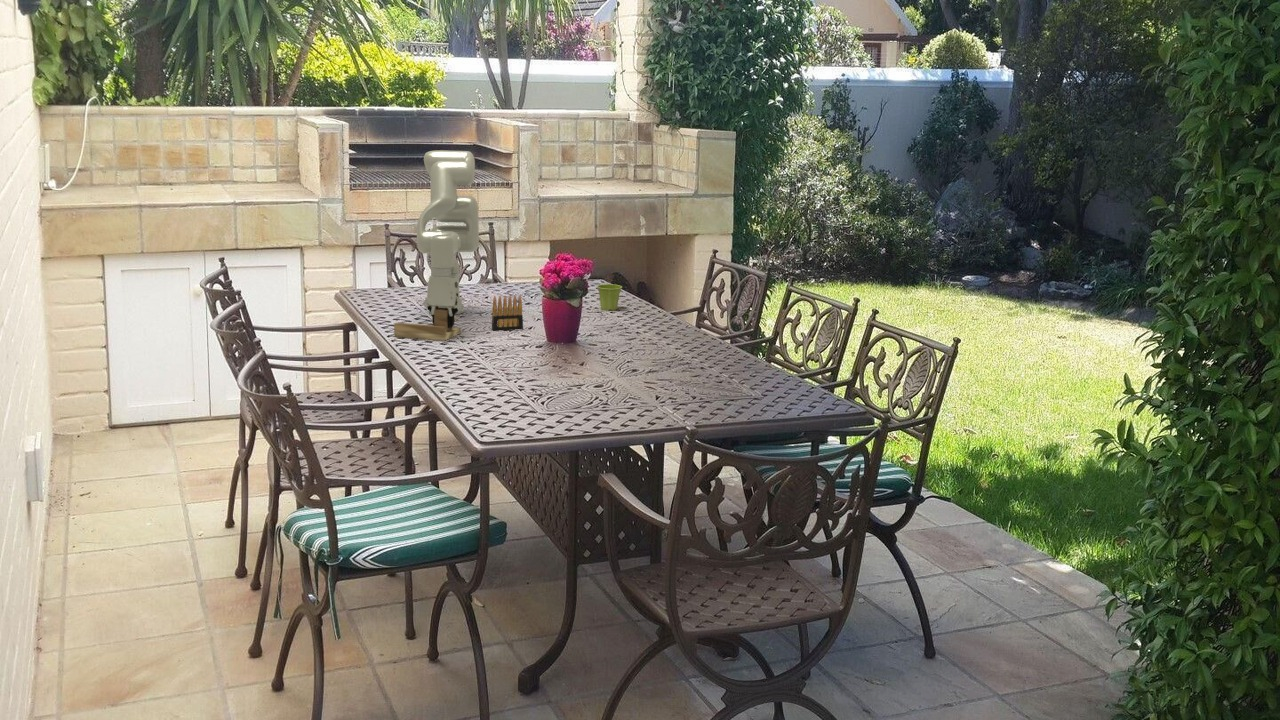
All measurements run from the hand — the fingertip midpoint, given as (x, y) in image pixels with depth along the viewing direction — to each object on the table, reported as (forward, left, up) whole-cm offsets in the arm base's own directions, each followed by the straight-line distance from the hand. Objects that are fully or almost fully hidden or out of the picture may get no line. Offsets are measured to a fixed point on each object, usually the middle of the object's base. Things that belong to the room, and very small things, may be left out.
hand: (443, 326), depth 424 cm
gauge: (-3, 0, -1) cm, 4 cm away
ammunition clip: (-18, +16, -4) cm, 24 cm away
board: (+1, -5, -3) cm, 6 cm away
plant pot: (-67, +37, -4) cm, 76 cm away
